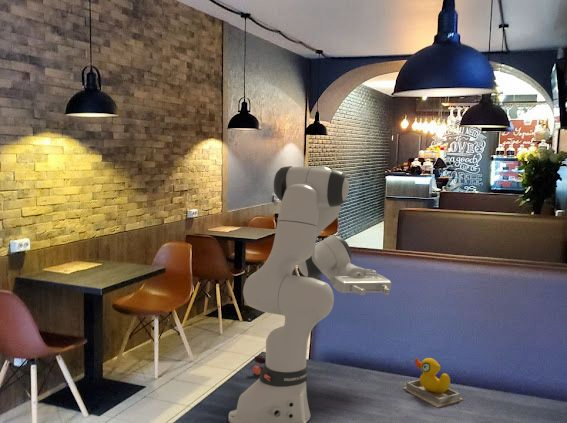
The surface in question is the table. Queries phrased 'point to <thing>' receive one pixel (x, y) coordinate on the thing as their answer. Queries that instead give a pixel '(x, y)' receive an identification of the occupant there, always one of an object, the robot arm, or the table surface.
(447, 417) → the table surface
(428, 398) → the shallow wooden tray
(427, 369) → the duckling
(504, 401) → the table surface
